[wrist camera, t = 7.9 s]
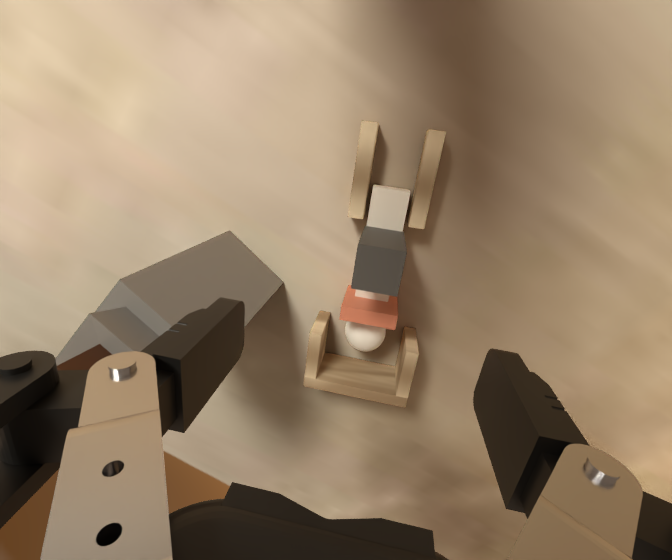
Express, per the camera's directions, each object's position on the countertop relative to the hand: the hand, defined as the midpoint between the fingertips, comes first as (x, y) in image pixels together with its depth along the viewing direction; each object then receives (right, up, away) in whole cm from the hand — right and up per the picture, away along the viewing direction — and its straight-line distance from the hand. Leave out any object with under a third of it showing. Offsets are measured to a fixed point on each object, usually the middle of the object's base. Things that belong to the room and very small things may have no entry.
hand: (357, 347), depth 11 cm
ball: (+2, -2, +19) cm, 19 cm away
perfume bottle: (-10, +2, +22) cm, 24 cm away
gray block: (+3, +6, +18) cm, 19 cm away
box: (+2, -4, +22) cm, 22 cm away
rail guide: (+4, +11, +16) cm, 20 cm away
